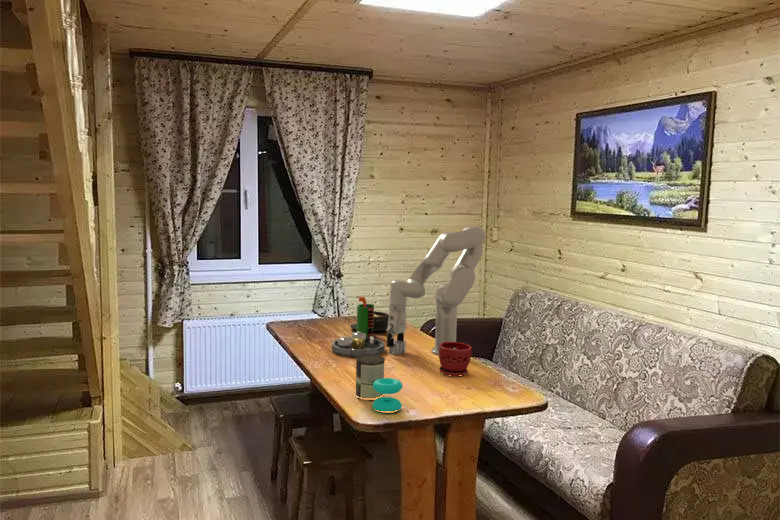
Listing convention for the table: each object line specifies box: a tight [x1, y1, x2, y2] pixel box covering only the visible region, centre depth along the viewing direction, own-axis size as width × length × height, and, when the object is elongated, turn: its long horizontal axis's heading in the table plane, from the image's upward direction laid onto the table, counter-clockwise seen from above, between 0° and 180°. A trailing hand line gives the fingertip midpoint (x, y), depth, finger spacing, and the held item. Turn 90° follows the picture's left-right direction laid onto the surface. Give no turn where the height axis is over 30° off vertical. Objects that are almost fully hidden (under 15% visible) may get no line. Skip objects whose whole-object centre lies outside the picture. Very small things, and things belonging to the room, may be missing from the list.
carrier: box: [331, 331, 386, 358], centre depth 303 cm, size 24×24×7 cm
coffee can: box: [355, 355, 386, 398], centre depth 238 cm, size 10×10×14 cm
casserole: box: [349, 311, 389, 333], centre depth 346 cm, size 25×19×8 cm
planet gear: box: [388, 339, 407, 355], centre depth 301 cm, size 8×8×5 cm
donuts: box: [371, 377, 403, 411], centre depth 225 cm, size 10×10×10 cm
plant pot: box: [438, 341, 472, 377], centre depth 269 cm, size 13×13×12 cm
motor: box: [355, 296, 375, 338], centre depth 329 cm, size 10×9×20 cm
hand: (395, 344), depth 300 cm, fingers open, 9 cm apart
